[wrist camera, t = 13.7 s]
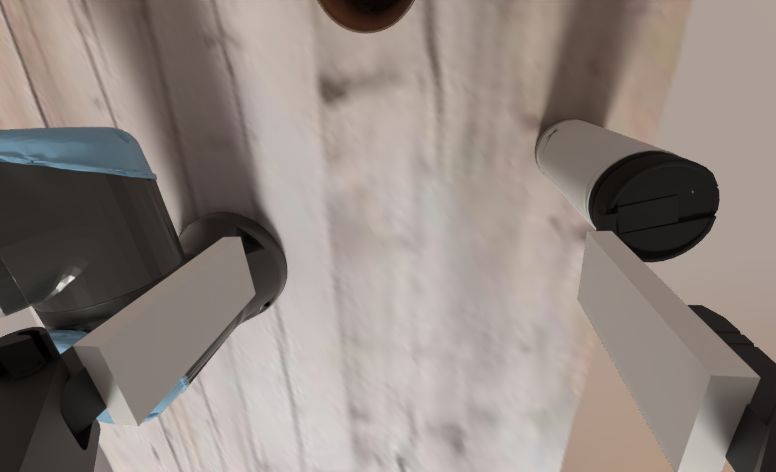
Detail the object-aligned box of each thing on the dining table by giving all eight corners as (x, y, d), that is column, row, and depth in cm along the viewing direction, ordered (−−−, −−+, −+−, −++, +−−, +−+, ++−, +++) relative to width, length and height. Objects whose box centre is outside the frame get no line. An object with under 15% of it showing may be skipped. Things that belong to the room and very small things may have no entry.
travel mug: (527, 128, 38) (596, 178, 20) (596, 111, 36) (740, 148, 18) (534, 185, 40) (603, 276, 22) (600, 171, 38) (732, 257, 20)
